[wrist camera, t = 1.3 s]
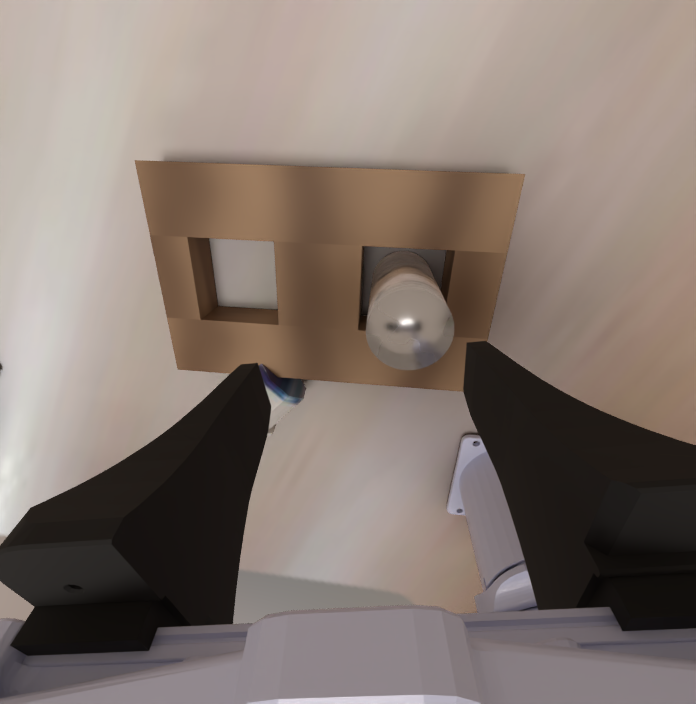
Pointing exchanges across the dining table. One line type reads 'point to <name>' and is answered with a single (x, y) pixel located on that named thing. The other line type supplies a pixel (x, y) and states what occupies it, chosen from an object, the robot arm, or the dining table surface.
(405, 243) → the wooden holder tray
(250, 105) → the dining table surface
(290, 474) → the dining table surface
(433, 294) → the steel pin
